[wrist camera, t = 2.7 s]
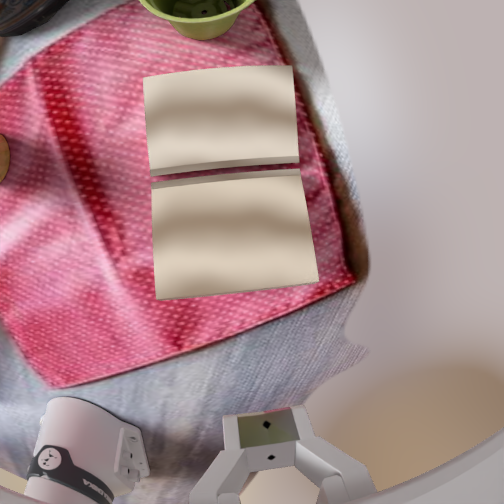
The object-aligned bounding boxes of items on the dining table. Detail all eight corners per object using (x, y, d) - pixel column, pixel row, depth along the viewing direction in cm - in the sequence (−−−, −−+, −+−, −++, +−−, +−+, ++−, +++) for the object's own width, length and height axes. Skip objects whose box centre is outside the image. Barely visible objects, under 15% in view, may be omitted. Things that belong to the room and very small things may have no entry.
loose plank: (314, 283, 26) (319, 281, 24) (160, 300, 25) (155, 299, 23) (296, 176, 28) (299, 168, 26) (155, 190, 27) (151, 182, 25)
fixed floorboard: (294, 161, 28) (299, 162, 26) (154, 174, 27) (150, 176, 25) (287, 69, 25) (292, 65, 23) (147, 81, 24) (142, 77, 22)
